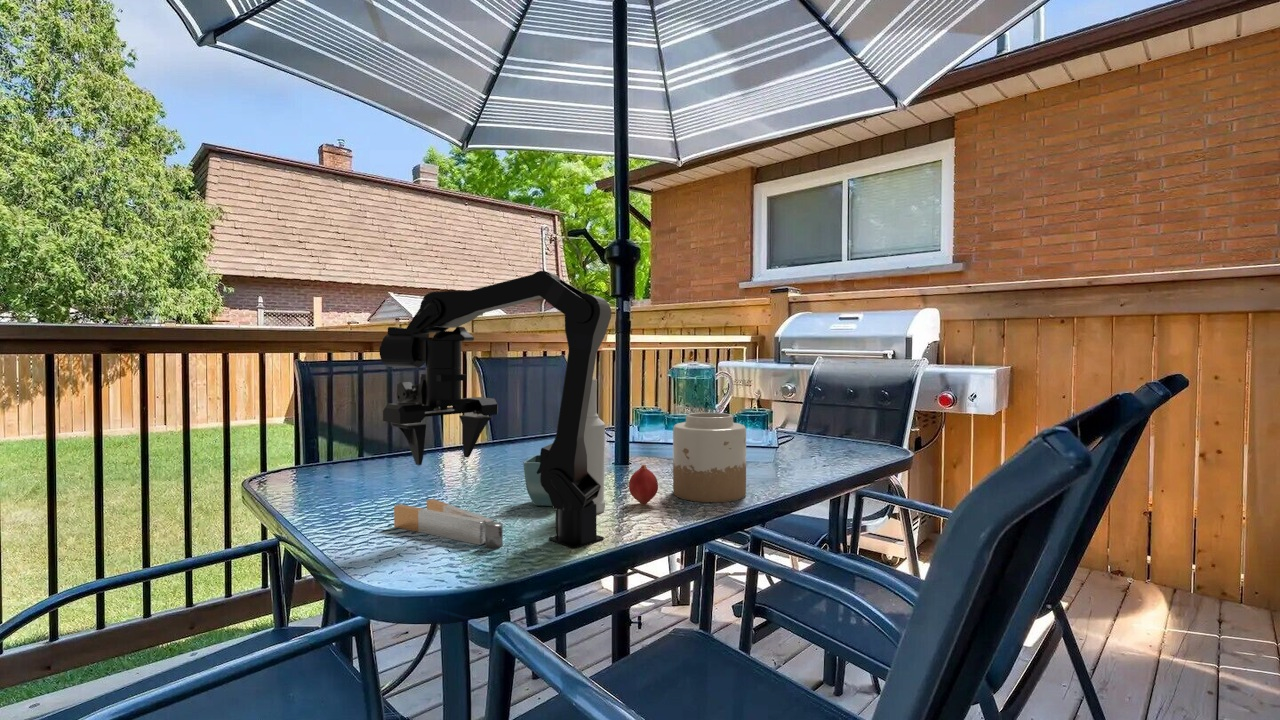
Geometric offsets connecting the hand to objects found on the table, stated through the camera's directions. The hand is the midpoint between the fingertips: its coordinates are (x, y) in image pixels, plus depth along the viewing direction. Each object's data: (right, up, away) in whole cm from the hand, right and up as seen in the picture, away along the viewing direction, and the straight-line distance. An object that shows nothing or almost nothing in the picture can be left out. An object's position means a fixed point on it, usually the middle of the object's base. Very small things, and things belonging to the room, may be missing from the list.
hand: (443, 460), depth 104 cm
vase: (+48, -12, +27) cm, 56 cm away
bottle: (+24, -12, +14) cm, 30 cm away
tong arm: (0, -12, -2) cm, 12 cm away
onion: (+34, -12, +18) cm, 40 cm away
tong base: (+3, -12, 0) cm, 12 cm away
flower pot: (+15, -12, +19) cm, 27 cm away
